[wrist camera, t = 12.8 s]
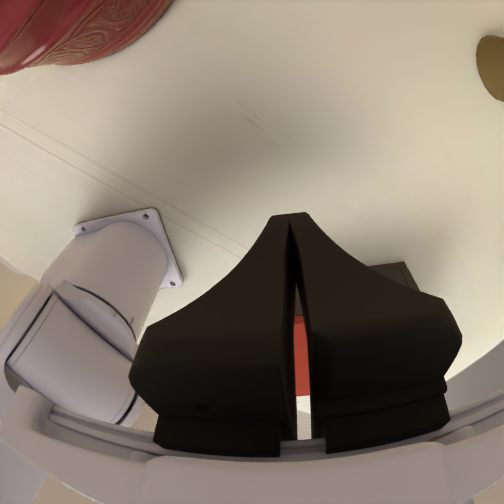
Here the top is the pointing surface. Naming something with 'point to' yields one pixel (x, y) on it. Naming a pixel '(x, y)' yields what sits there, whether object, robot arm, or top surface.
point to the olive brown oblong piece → (492, 65)
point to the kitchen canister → (70, 30)
